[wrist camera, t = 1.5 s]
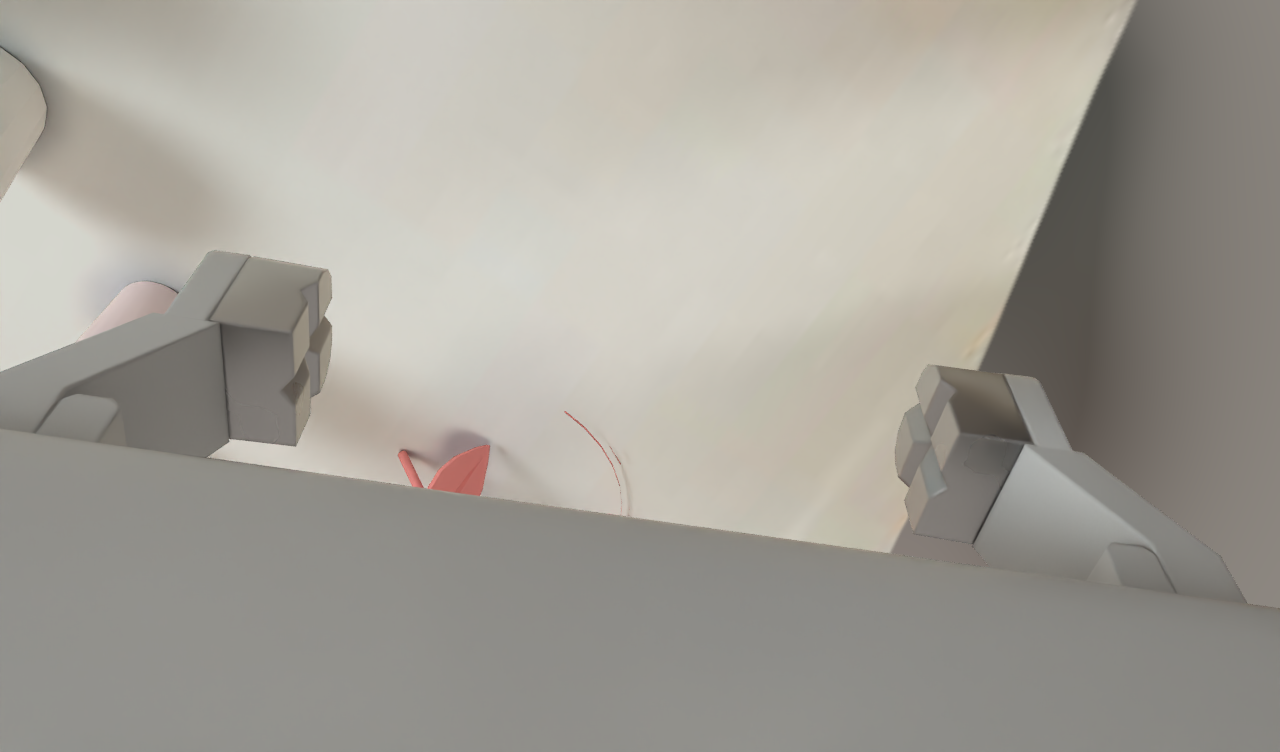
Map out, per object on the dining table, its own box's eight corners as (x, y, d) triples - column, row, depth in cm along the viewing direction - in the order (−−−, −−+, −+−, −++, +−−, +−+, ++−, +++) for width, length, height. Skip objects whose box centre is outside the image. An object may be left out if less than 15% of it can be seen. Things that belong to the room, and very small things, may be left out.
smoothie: (68, 311, 56) (-57, 507, 46) (126, 237, 53) (6, 427, 43) (179, 374, 59) (86, 571, 49) (239, 307, 56) (154, 501, 46)
